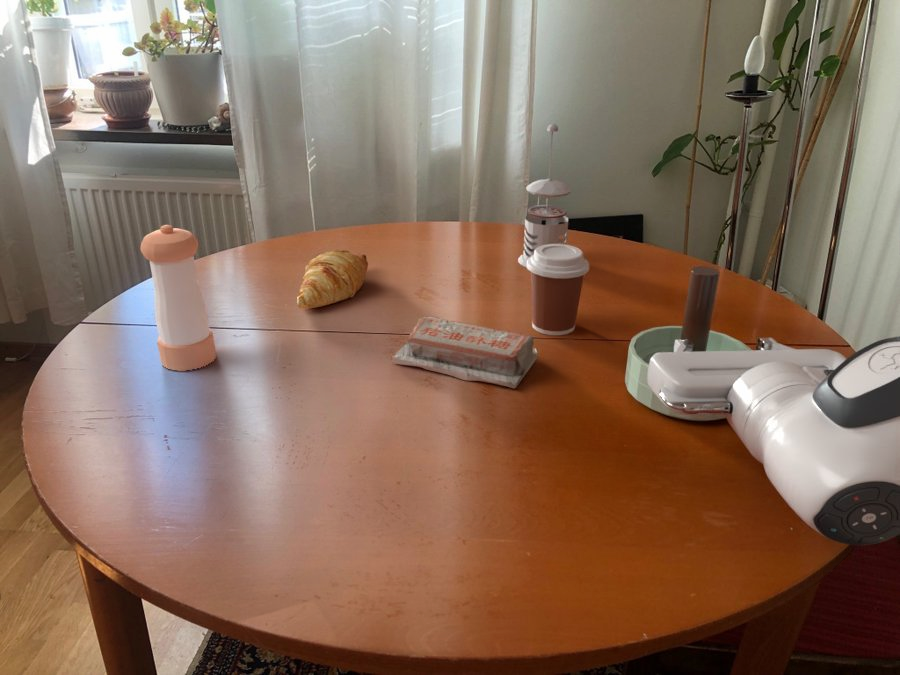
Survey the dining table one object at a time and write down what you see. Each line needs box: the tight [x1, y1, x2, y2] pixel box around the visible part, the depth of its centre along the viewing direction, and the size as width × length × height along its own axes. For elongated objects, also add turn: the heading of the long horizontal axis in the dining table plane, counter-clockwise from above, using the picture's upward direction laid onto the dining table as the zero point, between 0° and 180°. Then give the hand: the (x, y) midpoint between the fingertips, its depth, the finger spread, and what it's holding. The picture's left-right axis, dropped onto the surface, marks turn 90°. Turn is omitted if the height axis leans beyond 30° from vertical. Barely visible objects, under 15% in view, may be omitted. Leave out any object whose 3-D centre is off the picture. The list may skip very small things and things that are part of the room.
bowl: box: [624, 325, 753, 422], centre depth 93 cm, size 15×15×6 cm
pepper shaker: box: [139, 224, 217, 372], centre depth 98 cm, size 7×7×19 cm
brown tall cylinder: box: [680, 265, 720, 352], centre depth 91 cm, size 4×4×16 cm
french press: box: [517, 123, 573, 268], centre depth 134 cm, size 10×12×25 cm
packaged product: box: [391, 316, 539, 389], centre depth 101 cm, size 18×5×10 cm
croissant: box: [296, 250, 369, 310], centre depth 124 cm, size 21×10×8 cm, turn 160°
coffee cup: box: [526, 243, 590, 336], centre depth 110 cm, size 9×9×12 cm
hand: (721, 344), depth 83 cm, fingers open, 8 cm apart
